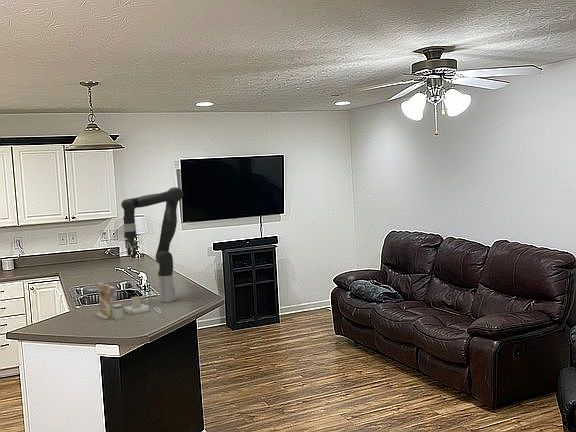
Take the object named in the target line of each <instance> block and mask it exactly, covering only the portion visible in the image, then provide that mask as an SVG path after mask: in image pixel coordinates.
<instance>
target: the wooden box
mask: <svg viewBox="0 0 576 432" xmlns="http://www.w3.org/2000/svg"><path fill="white" fill-rule="evenodd" d="M97 290H98V303H99V311H100V312H96V316H97V317H100V318H102V319H104V320H111V319H114V315H113V309H112V303H115V302H118V293H117V292H118V291H117V287H116V286H112V285H109V284H106V283H102V282H98V283H97Z"/></svg>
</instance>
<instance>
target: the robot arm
mask: <svg viewBox="0 0 576 432" xmlns="http://www.w3.org/2000/svg"><path fill="white" fill-rule="evenodd" d="M183 198H184V192H183V190H182V189H181V188H180V187H176V186H175V187H171V188H169V189H168V190H166V191H163V192H159V193H153V194H152V193H151V194H146V195H141V196H138V197H132V198H127V199H126V198H125V199H124V200H122V202H121V203H120V204H121V205H120V206H121V208H122V209H123V217H122V219H123V221H122V222H123V236H124V246H125V249H126V251H127V253H126V254H127V256H131V255H132V256H133V257H137V250H138V241H137V239H135V238H137V237H138V235H137V227H136V226H137V225H136V219H135V218H136V217H135V211H136V209H138V208H144V207H149V206H153V205H157V204H161V203H165V210H164V214H163V218H162V223H161V229H160V236H159V242H158V246H157V249H156V253H155V261H156V262H157V264H159V270H158V271H157V276H158V287H159V288H158V289H159V302H160V303H172V302H175V301H177V299H176V286H175V285H174V275H173V272H174V258H173V254H172V253H171V252H170V246H171V242H172V240H173V238H174V235H175V233H176V230H177V224H178V215H177V209H178V208H177V207H178V203H179V201H182V199H183Z"/></svg>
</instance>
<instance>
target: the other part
mask: <svg viewBox="0 0 576 432" xmlns="http://www.w3.org/2000/svg"><path fill="white" fill-rule="evenodd" d="M112 314H113V315H114V318H113V320H116V321H117V320H123V319H124V316H123V305H122V304H121V303H117V304H113V305H112Z"/></svg>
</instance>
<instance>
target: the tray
mask: <svg viewBox="0 0 576 432" xmlns="http://www.w3.org/2000/svg"><path fill="white" fill-rule="evenodd" d="M150 311H151V310H150V306H149V305H146V304H143V303H141V308H138V309H132V305H129V306H124V307H123V312H124V313H125V314H127V315H130V316H132V315H139V314H143V313H148V312H150Z"/></svg>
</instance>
